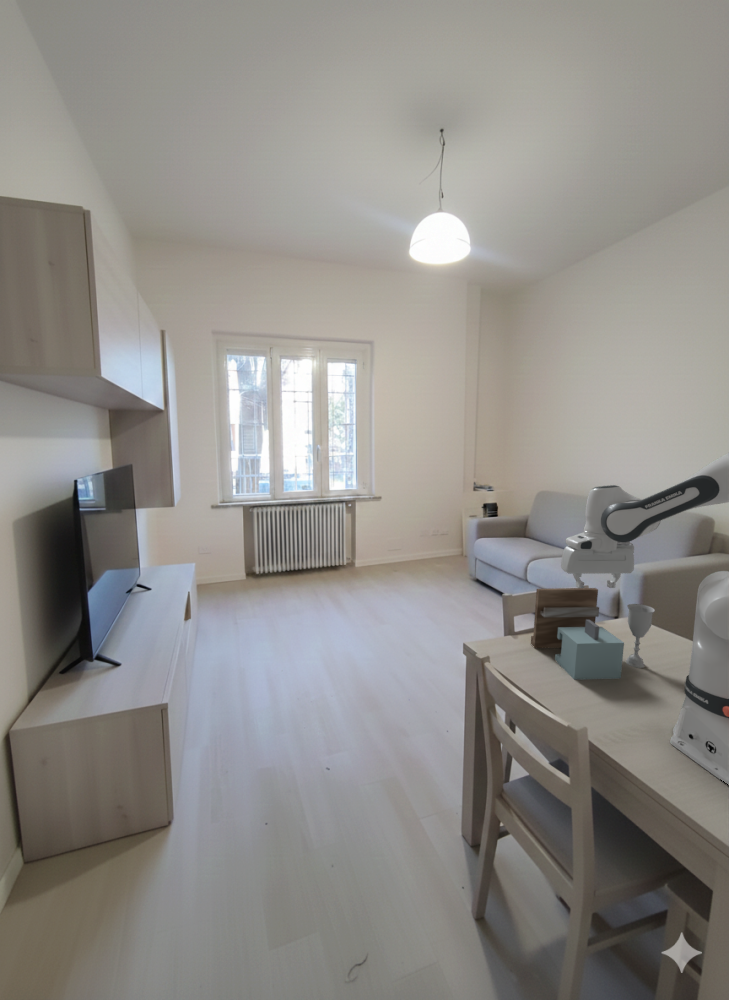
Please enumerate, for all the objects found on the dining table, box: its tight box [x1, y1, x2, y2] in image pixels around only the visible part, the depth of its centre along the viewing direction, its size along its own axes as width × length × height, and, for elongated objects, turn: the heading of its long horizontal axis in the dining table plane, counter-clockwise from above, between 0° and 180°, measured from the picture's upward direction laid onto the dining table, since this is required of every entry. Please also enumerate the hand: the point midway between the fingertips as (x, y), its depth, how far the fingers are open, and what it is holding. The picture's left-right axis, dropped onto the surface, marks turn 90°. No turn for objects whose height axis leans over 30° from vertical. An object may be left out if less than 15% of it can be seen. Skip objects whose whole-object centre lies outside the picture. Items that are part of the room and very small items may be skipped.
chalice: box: [625, 603, 656, 669], centre depth 136 cm, size 7×7×18 cm
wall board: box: [530, 587, 600, 649], centre depth 146 cm, size 6×20×20 cm, turn 94°
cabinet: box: [554, 620, 625, 680], centre depth 133 cm, size 11×14×15 cm
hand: (595, 587), depth 130 cm, fingers open, 8 cm apart
